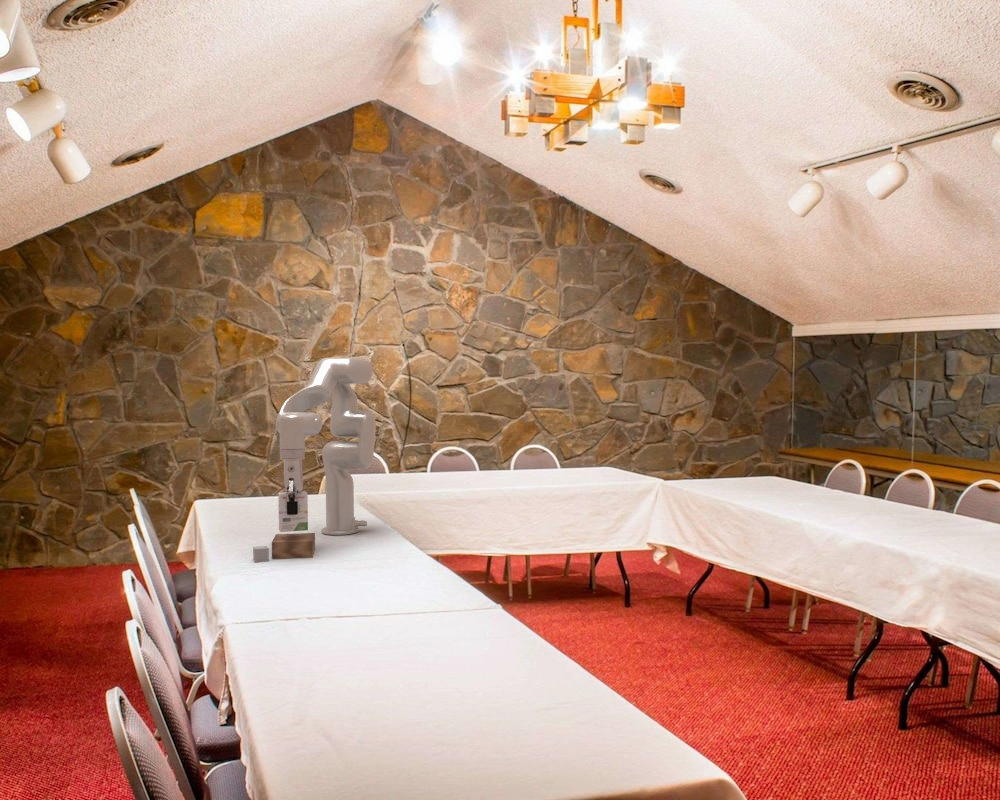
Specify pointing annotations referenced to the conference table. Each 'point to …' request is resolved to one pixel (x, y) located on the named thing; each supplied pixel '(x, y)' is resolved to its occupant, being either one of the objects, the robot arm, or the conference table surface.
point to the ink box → (293, 521)
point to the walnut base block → (293, 545)
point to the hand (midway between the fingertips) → (293, 512)
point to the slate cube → (261, 554)
